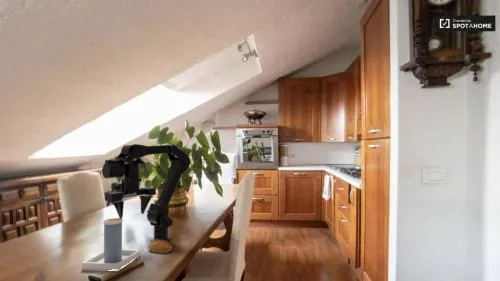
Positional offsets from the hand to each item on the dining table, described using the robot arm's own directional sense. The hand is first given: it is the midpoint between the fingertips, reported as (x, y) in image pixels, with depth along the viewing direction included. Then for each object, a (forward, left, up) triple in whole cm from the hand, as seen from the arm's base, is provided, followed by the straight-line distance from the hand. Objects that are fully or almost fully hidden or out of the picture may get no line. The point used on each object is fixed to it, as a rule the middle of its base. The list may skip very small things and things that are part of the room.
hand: (131, 216), depth 112 cm
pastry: (-2, +11, -14) cm, 18 cm away
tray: (+13, +1, -13) cm, 18 cm away
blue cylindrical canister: (+13, +1, -12) cm, 18 cm away
